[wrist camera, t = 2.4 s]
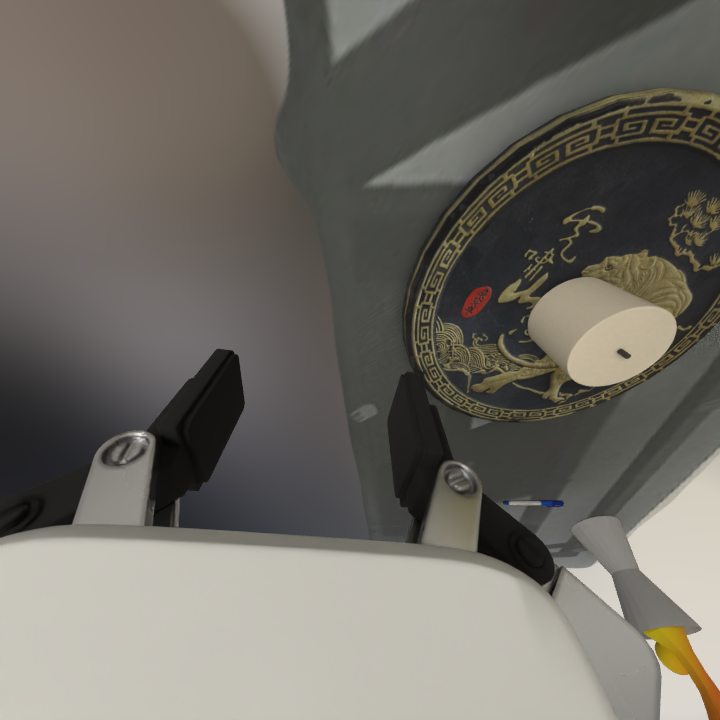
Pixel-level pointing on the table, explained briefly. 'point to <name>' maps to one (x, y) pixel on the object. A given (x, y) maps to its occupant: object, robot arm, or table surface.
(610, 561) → the lava lamp
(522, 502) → the ballpoint pen
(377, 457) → the table surface
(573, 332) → the candle
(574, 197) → the decorative plate
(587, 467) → the table surface
